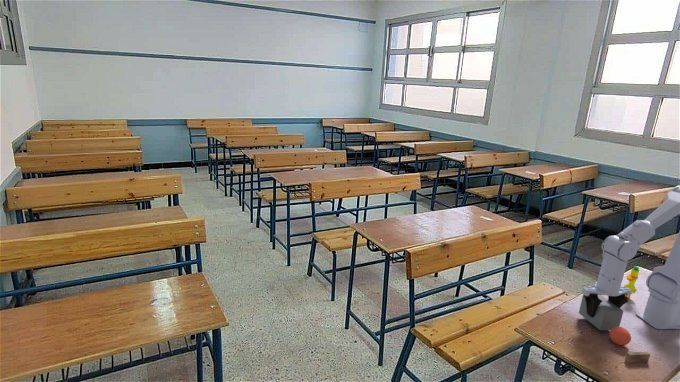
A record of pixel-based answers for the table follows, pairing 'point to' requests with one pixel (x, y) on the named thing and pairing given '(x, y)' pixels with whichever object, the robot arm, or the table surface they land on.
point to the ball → (620, 336)
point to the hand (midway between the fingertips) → (599, 315)
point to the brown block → (637, 357)
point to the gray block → (603, 314)
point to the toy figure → (632, 280)
